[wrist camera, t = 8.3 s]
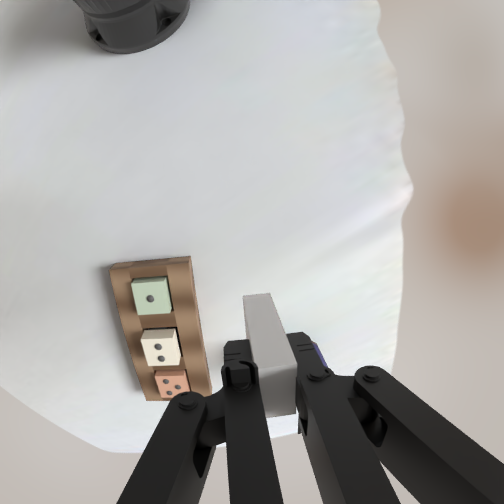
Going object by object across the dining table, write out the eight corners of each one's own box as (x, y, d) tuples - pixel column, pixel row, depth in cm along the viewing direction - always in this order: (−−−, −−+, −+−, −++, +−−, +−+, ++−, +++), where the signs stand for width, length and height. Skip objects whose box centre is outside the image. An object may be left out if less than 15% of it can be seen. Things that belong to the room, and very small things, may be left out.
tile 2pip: (144, 330, 39) (140, 339, 37) (175, 328, 40) (172, 338, 37) (151, 356, 41) (148, 366, 38) (180, 354, 41) (178, 365, 39)
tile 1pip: (136, 277, 39) (130, 284, 36) (167, 274, 39) (164, 281, 37) (142, 307, 40) (137, 315, 37) (172, 305, 40) (169, 313, 38)
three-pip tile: (157, 366, 43) (154, 376, 40) (185, 365, 43) (183, 375, 41) (163, 387, 44) (161, 398, 42) (190, 386, 44) (189, 397, 42)
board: (115, 263, 40) (108, 270, 37) (190, 256, 40) (188, 262, 38) (149, 389, 46) (146, 400, 43) (211, 387, 47) (211, 399, 44)
